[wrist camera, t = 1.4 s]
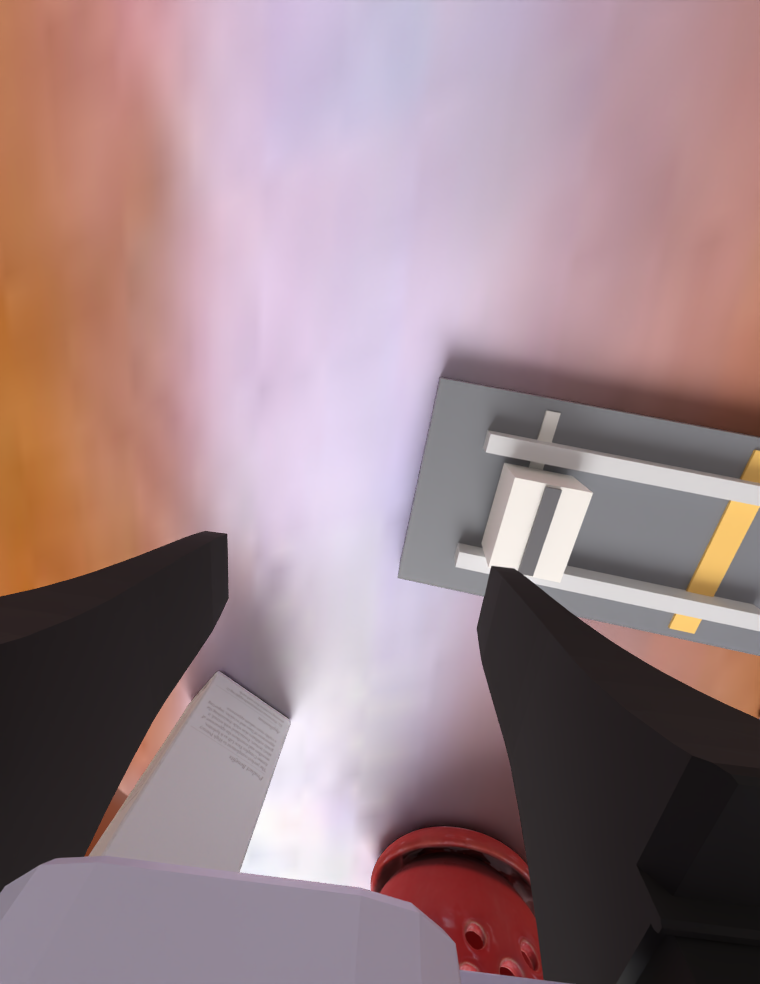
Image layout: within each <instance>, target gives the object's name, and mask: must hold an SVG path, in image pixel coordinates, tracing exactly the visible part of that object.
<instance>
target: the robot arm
mask: <svg viewBox="0 0 760 984" xmlns="http://www.w3.org/2000/svg"><path fill="white" fill-rule="evenodd" d="M227 600H228V547H227V534H224V533H216V532H208V531H204V532H200V533H197V534H194V535H191V536H188V537H185V538H183V539H180V540H177V541H175V542H172V543H170V544H167V545H165V546H162V547H160V548H157V549H155V550H152V551H150V552H147V553H145V554H142V555H139V556H137V557H134V558H131V559H129V560H126V561H123V562H120V563H117V564H115V565H112V566H109V567H106V568H104V569H101V570H98V571H95V572H92V573H89V574H86V575H83V576H79V577H76V578H73V579H70V580H66V581H62V582H59V583H55V584H52V585H48V586H44V587H41V588H37V589H33V590H28V591H24V592H19V593H15V594H10V595H6V596H1V597H0V984H760V719H757V718H755V717H753V716H751V715H749V714H746V713H744V712H742V711H740V710H737V709H735V708H733V707H731V706H728V705H726V704H724V703H722V702H720V701H718V700H716V699H714V698H712V697H710V696H708V695H705V694H703V693H701V692H699V691H697V690H695V689H694V688H692V687H690V686H688V685H686V684H684V683H682V682H680V681H678V680H676V679H675V678H673V677H671V676H669V675H667V674H665V673H663V672H661V671H660V670H658V669H656V668H654V667H653V666H651V665H649V664H647V663H646V662H644V661H642V660H641V659H639V658H637V657H636V656H634V655H632V654H631V653H629V652H628V651H626V650H624V649H623V648H621V647H619V646H618V645H616V644H615V643H613V642H612V641H610V640H609V639H607V638H606V637H604V636H603V635H601V634H600V633H599V632H597V631H596V630H594V629H593V628H591V627H590V626H589V625H587V624H586V623H584V622H583V621H582V620H580V619H579V618H578V617H576V616H575V615H574V614H572V613H571V612H570V611H568V610H567V609H566V608H565V607H563V606H562V605H561V604H559V603H558V602H557V601H556V600H554V599H553V598H552V597H551V596H549V595H548V594H547V593H546V592H544V591H543V590H542V589H541V588H540V587H538V586H537V585H536V584H535V583H533V582H532V581H531V580H529V579H528V578H527V577H526V576H524V575H523V574H522V573H520V572H519V571H517V570H516V569H514V568H507V567H498V566H491V569H490V573H489V578H488V582H487V587H486V591H485V595H484V600H483V604H482V608H481V613H480V617H479V621H478V626H477V633H478V641H479V648H480V654H481V661H482V665H483V669H484V672H485V676H486V679H487V683H488V686H489V690H490V693H491V697H492V700H493V704H494V707H495V710H496V714H497V717H498V721H499V724H500V728H501V731H502V734H503V738H504V741H505V745H506V749H507V753H508V757H509V761H510V766H511V771H512V777H513V782H514V787H515V793H516V798H517V803H518V809H519V815H520V821H521V827H522V833H523V839H524V845H525V851H526V857H527V863H528V870H529V877H530V884H531V890H532V897H533V904H534V911H535V918H536V924H537V932H538V940H539V948H540V956H541V964H542V972H543V980H537V979H529V978H522V977H514V976H506V975H498V974H490V973H482V972H474V971H466V970H460V969H459V962H458V956H457V950H456V943H455V942H454V941H453V940H452V939H451V938H450V937H449V935H448V934H447V933H446V932H445V931H444V930H443V929H442V928H441V927H440V926H438V925H437V924H436V923H435V922H434V921H432V920H431V919H430V918H429V917H428V916H426V915H425V914H424V913H423V912H422V911H421V910H419V909H418V908H417V907H416V906H415V905H413V904H412V903H410V902H407V901H403V900H400V899H397V898H393V897H390V896H387V895H383V894H380V893H377V892H373V891H370V890H366V889H363V888H358V887H350V886H342V885H334V884H327V883H319V882H311V881H303V880H295V879H287V878H279V877H271V876H263V875H255V874H247V873H239V872H231V871H223V870H215V869H207V868H199V867H191V866H184V865H176V864H168V863H160V862H152V861H144V860H136V859H128V858H120V857H112V856H92V857H84V855H85V854H86V851H87V849H88V847H89V845H90V843H91V841H92V839H93V837H94V835H95V833H96V831H97V829H98V826H99V824H100V822H101V820H102V818H103V816H104V814H105V812H106V810H107V808H108V806H109V804H110V802H111V800H112V797H113V796H114V794H115V792H116V790H117V788H118V786H119V784H120V782H121V780H122V778H123V777H124V775H125V773H126V771H127V769H128V767H129V765H130V763H131V761H132V759H133V757H134V755H135V753H136V752H137V750H138V748H139V746H140V744H141V742H142V741H143V739H144V737H145V735H146V733H147V731H148V729H149V728H150V726H151V724H152V722H153V720H154V719H155V717H156V715H157V714H158V712H159V710H160V709H161V707H162V706H163V704H164V702H165V701H166V699H167V698H168V696H169V695H170V693H171V692H172V690H173V689H174V688H175V686H176V685H177V683H178V682H179V680H180V679H181V677H182V676H183V674H184V673H185V671H186V670H187V668H188V667H189V665H190V664H191V662H192V661H193V659H194V658H195V656H196V655H197V654H198V652H199V650H200V649H201V647H202V646H203V644H204V643H205V641H206V640H207V638H208V637H209V635H210V634H211V632H212V631H213V629H214V627H215V625H216V623H217V621H218V619H219V617H220V615H221V613H222V611H223V609H224V607H225V604H226V602H227Z"/></svg>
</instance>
